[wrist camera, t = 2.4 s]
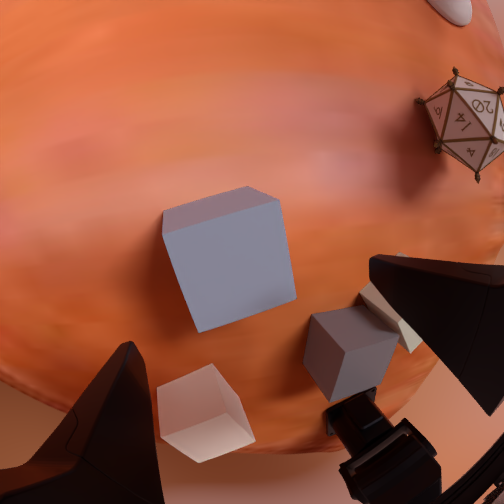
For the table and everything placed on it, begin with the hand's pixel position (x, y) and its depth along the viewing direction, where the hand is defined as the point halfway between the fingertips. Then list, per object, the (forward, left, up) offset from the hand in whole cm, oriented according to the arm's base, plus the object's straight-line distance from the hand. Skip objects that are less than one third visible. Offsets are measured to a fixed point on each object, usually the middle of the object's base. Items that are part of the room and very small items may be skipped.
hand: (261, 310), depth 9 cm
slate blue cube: (0, 0, -8) cm, 8 cm away
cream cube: (-12, +5, -8) cm, 15 cm away
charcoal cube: (-11, -7, -8) cm, 15 cm away
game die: (+5, -20, -8) cm, 22 cm away
